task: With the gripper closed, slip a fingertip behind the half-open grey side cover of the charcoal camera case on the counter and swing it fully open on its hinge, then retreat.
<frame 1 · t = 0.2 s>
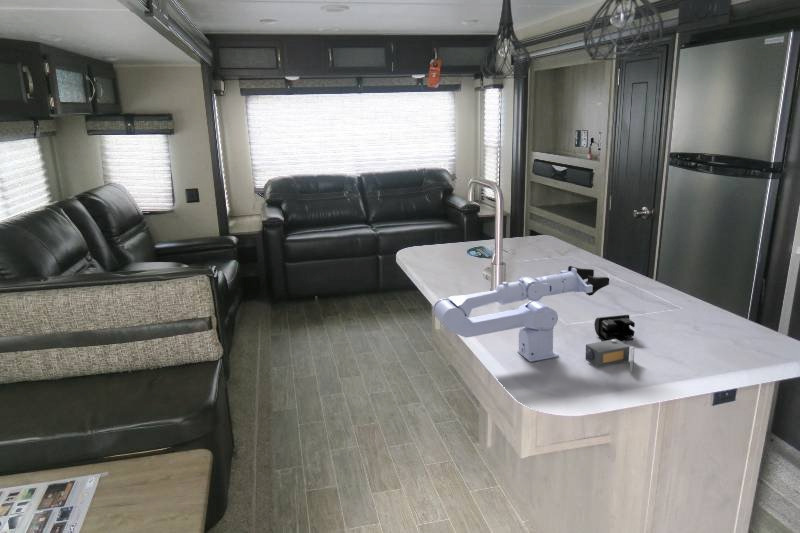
hand: (600, 276, 167), 21 cm above the worktop, tool horizontal, fingers open, 7 cm apart
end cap: (614, 338, 177), on the worktop
side cover: (631, 359, 156), point 2 cm above the worktop, hinge at 50.0°
camera case: (606, 360, 162), on the worktop
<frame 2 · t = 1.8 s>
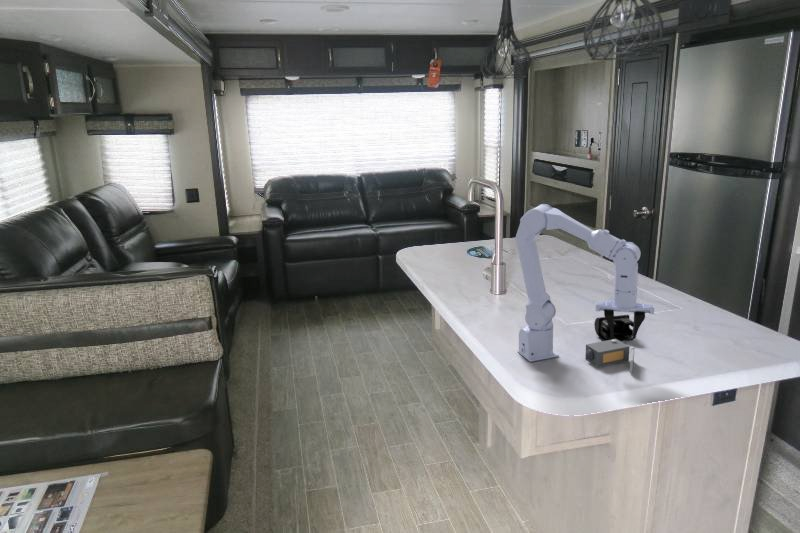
hand: (622, 336, 154), 9 cm above the worktop, tool pointing down, fingers open, 5 cm apart
nothing on the worktop moved.
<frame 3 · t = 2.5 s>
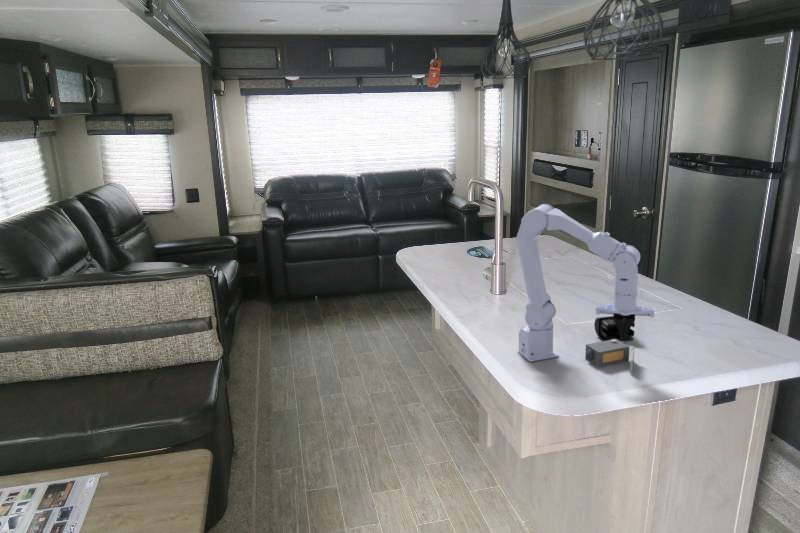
hand: (622, 339, 154), 9 cm above the worktop, tool pointing down, fingers closed
nothing on the worktop moved.
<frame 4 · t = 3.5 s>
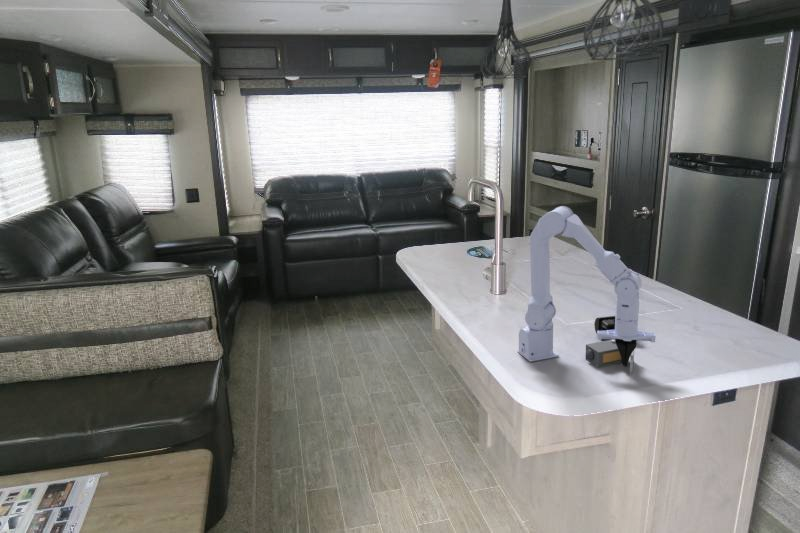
hand: (624, 364, 155), 1 cm above the worktop, tool pointing down, fingers closed
side cover: (631, 359, 156), point 2 cm above the worktop, hinge at 50.0°, touching gripper
everything else where it was.
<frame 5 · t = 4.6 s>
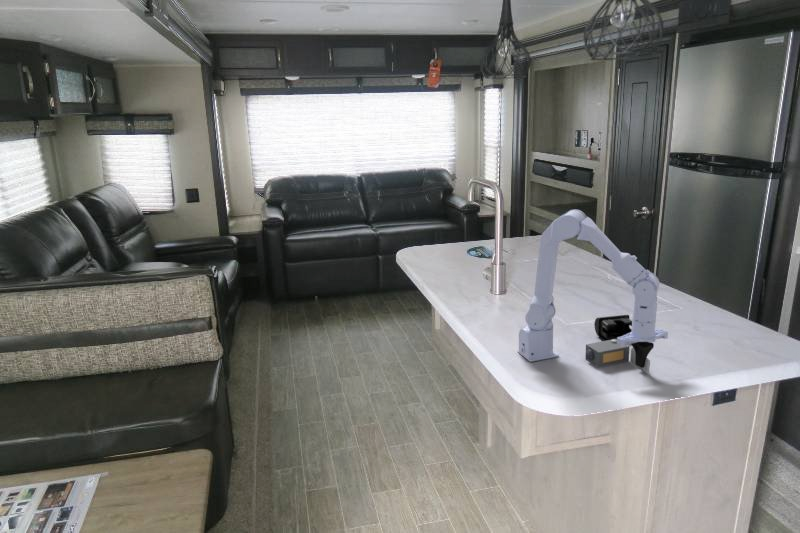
hand: (640, 366, 154), 1 cm above the worktop, tool pointing down, fingers closed, pressing on side cover
side cover: (639, 360, 156), point 2 cm above the worktop, hinge at 81.3°, touching gripper
everything else where it was.
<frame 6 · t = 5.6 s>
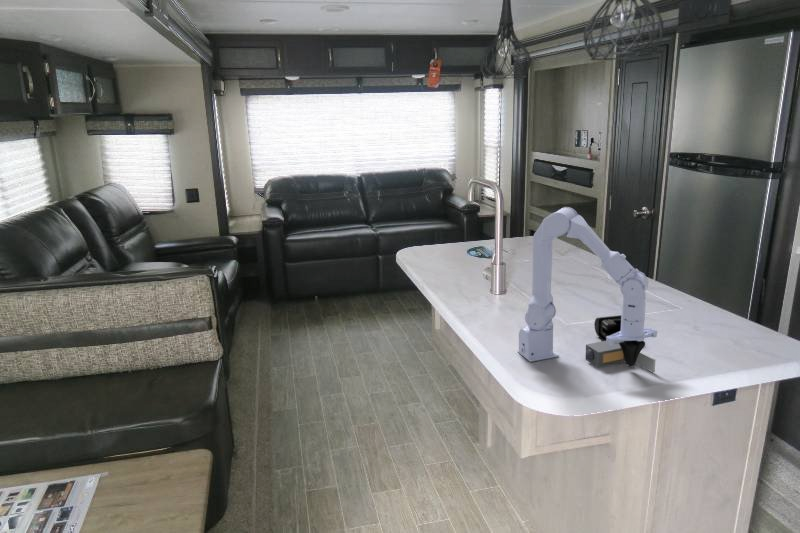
hand: (629, 364, 154), 2 cm above the worktop, tool pointing down, fingers closed
side cover: (642, 359, 156), point 2 cm above the worktop, hinge at 93.5°
everything else where it was.
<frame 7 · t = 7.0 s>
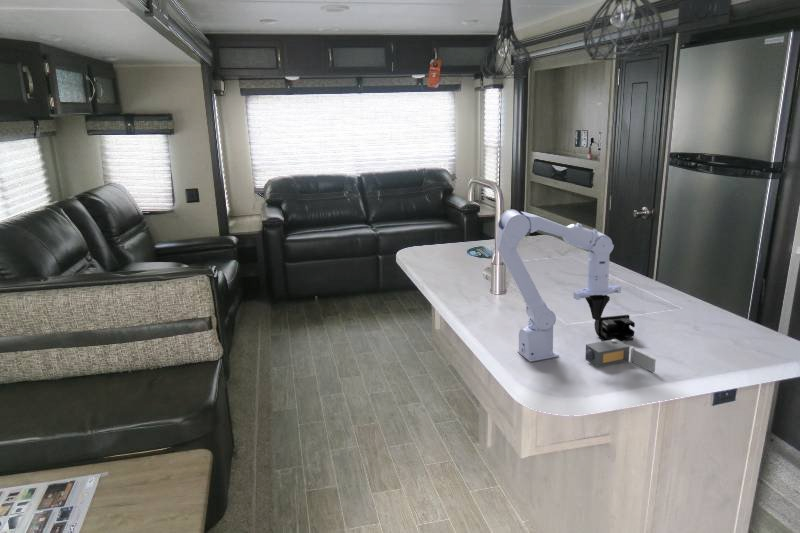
hand: (596, 318, 166), 10 cm above the worktop, tool pointing down, fingers closed
side cover: (642, 359, 156), point 2 cm above the worktop, hinge at 93.8°
everything else where it was.
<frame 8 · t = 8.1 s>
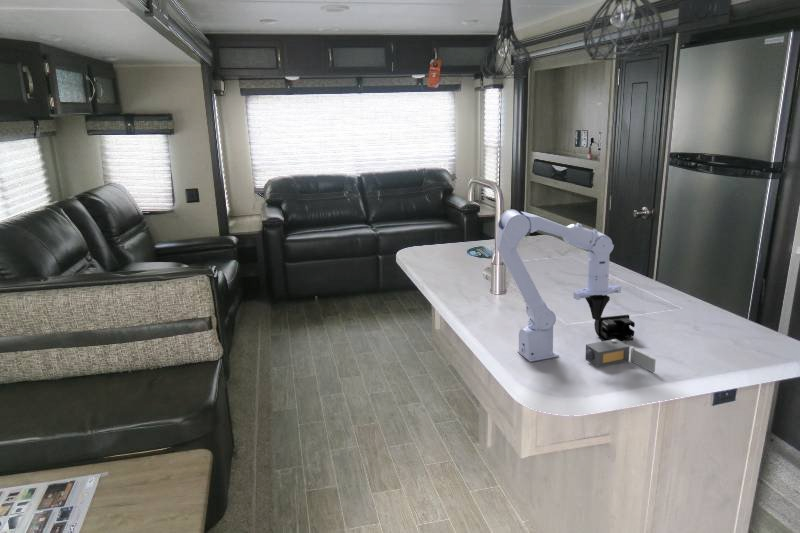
hand: (596, 318, 166), 10 cm above the worktop, tool pointing down, fingers closed
nothing on the worktop moved.
at the end: side cover at +94° (first picture: +50°); side cover touching nothing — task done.
